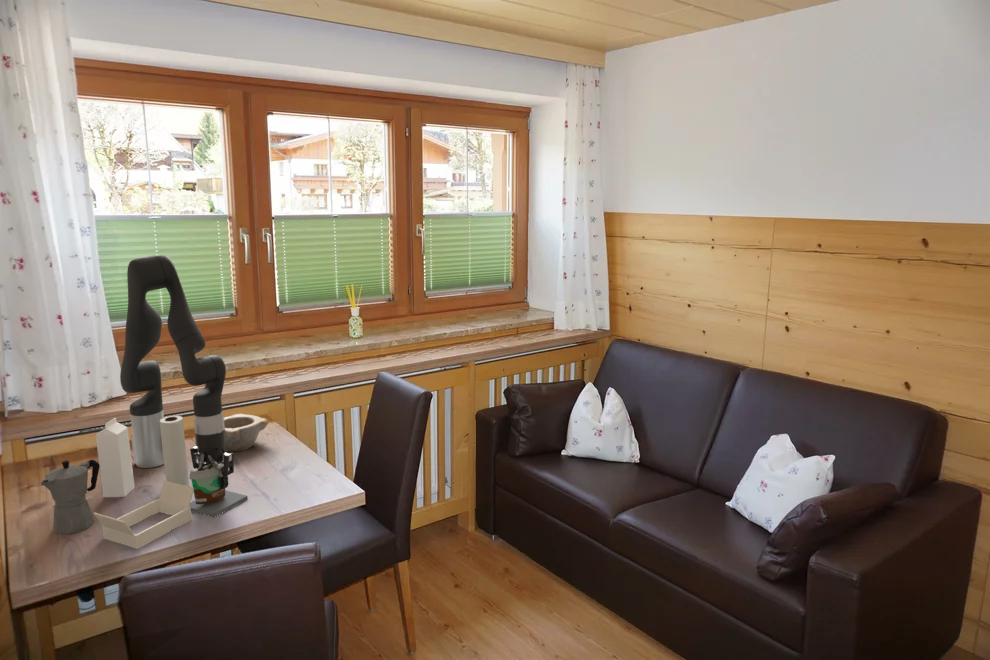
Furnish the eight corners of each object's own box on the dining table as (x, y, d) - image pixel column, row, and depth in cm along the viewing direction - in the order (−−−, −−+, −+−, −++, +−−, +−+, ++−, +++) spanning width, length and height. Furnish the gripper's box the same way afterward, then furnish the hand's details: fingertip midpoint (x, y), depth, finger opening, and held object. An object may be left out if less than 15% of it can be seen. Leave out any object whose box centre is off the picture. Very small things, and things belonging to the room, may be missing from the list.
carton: (95, 542, 165) (91, 512, 164) (166, 507, 184) (163, 479, 182) (129, 553, 160) (125, 522, 159) (198, 516, 179) (195, 488, 177)
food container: (212, 508, 179) (209, 473, 177) (192, 506, 180) (188, 472, 178) (239, 488, 190) (236, 456, 188) (219, 487, 192) (216, 454, 190)
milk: (134, 488, 195) (127, 416, 191) (124, 497, 190) (116, 423, 185) (113, 488, 195) (105, 416, 191) (102, 497, 189) (94, 423, 185)
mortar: (242, 434, 238) (240, 410, 236) (274, 443, 230) (272, 418, 228) (200, 449, 224) (197, 424, 222) (232, 460, 216) (230, 433, 214)
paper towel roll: (169, 484, 198) (162, 416, 193) (191, 482, 199) (184, 414, 195) (163, 495, 191) (156, 424, 187) (186, 492, 192) (179, 422, 188)
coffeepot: (62, 541, 166) (53, 474, 162) (36, 534, 169) (26, 468, 165) (117, 514, 180) (109, 451, 176) (92, 508, 183) (84, 446, 179)
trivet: (184, 509, 183) (184, 505, 182) (218, 491, 193) (218, 488, 193) (214, 517, 178) (213, 514, 178) (247, 498, 189) (247, 495, 189)
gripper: (179, 429, 181) (184, 486, 184) (218, 437, 175) (223, 496, 178) (201, 420, 187) (206, 475, 191) (240, 428, 182) (244, 485, 185)
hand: (214, 485), depth 185 cm, fingers closed on food container, 6 cm apart
